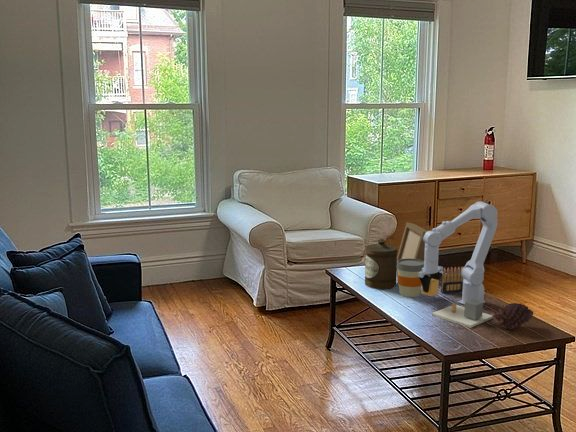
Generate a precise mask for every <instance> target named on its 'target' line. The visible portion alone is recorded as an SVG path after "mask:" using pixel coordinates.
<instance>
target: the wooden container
mask: <svg viewBox="0 0 576 432" xmlns="http://www.w3.org/2000/svg"><path fill="white" fill-rule="evenodd" d="M377 242H378V243H372V244H367V245H366V246H365V264H364V266H365V268H364V285H365V286H367V287H368V288H372V289H379V290H387V289H393V288H395V287H397V272H398V271H397V255H398V247H397V246H396V245H393V244H386V240H384V239H383V238H379V239H378V241H377Z"/></svg>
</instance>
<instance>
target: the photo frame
mask: <svg viewBox="0 0 576 432" xmlns="http://www.w3.org/2000/svg"><path fill="white" fill-rule="evenodd" d="M428 231H429V230H426V229H425V228H423V227H421V226H419V225H417V224H415V223H411V222H407V221H406V224H405V226H404V230H403V235H402V238H401V242H400V244H399V249H398V251H397V261H398V260H400V259H407V258H410V259H418V260H422V261H424V254H425V242H424V241H423V237H424V235H425V233H426V232H428Z"/></svg>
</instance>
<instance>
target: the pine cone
mask: <svg viewBox="0 0 576 432" xmlns="http://www.w3.org/2000/svg"><path fill="white" fill-rule="evenodd" d="M493 313H494V314H493V315H492V316H493V318H495V320H497V321H498V322H500V324H501V325H500V326H502V327H504V328H507V329H508V330H509V329H511V330H514V329H517V328H519V327H521V326H522V325H524V324H526V323H528V322H529V320H531V319H532V317H533V316H534V310H532V309H529V306H527V305H525V304H524V303H523V304H522V303H517V302H515V303H514V302H513V303H508V304H506V305H505V306H503V309H501V308H499V309H498V311H497V312H493Z"/></svg>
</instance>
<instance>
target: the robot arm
mask: <svg viewBox="0 0 576 432" xmlns="http://www.w3.org/2000/svg"><path fill="white" fill-rule="evenodd" d="M498 214H499V212H498V210H497V208H496V207H495V206H494V205H493V204H489V203H486V202H484V201H481V200H480V201H479V200H478V201H475V203H474V204H471V205H470V206H469V207H468V208H467V209H466V210H464V211H463V212H461V214H459V215H458V216H456V217H455V218H454V219H452V220H446V221H445V220H443V221H442V222H441V224H440V225H439V226H436V227H434V228H432V229H431V230H427V231H428V232H426V233H425V235H424V237H423V241H424V242H425V254H424V268H422V271H420V272H418V277H419V279H420V281H421V283H422V285H421V288H422V287H423V291H424V292H428V291H429V285H430V282H431V279H436V280H439V281H440V279H442V277H443V271H444V267H443V266H440V265H439V251H440V250H439V248H440V247H439V246H441V244H442V242H443V241H444V240H445V239H446V238H448V237H450V236H451V235H453V234H454V233H455V232H456V229H457V228H458V227H460V226H461V225H463V224H465V223H467V222H469V221H470V220H472V219H475V220H476V219H478V220H480V222H481V223H482V228H481V231H480V234H479V236H478V240H477V242H476V243H475V248H474V250H473V252H472V256H471V258H470V260H468V261H466V264H465V265H464V266H463V269H462V271H461V270H460V273H461V276H462V277H463V292H461V293H462V296H461V300H458V301H457V303H458V304H461V305H464V306H465V302H467V301H469V300H476V301H480V302H483V304H485V303H486V301H485V300H484V299H485V298H484V297H485V286H484V284H483V282H484V280H485V279H484V277H485V275H484V274H485V266H484V263H485V260H486V259H487V255H488V253H489V250H490V247H491V244H492V242H493V240H494V236H495V234H496V231H497V230H498V229H497V228H498V227H499V225H498Z"/></svg>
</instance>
